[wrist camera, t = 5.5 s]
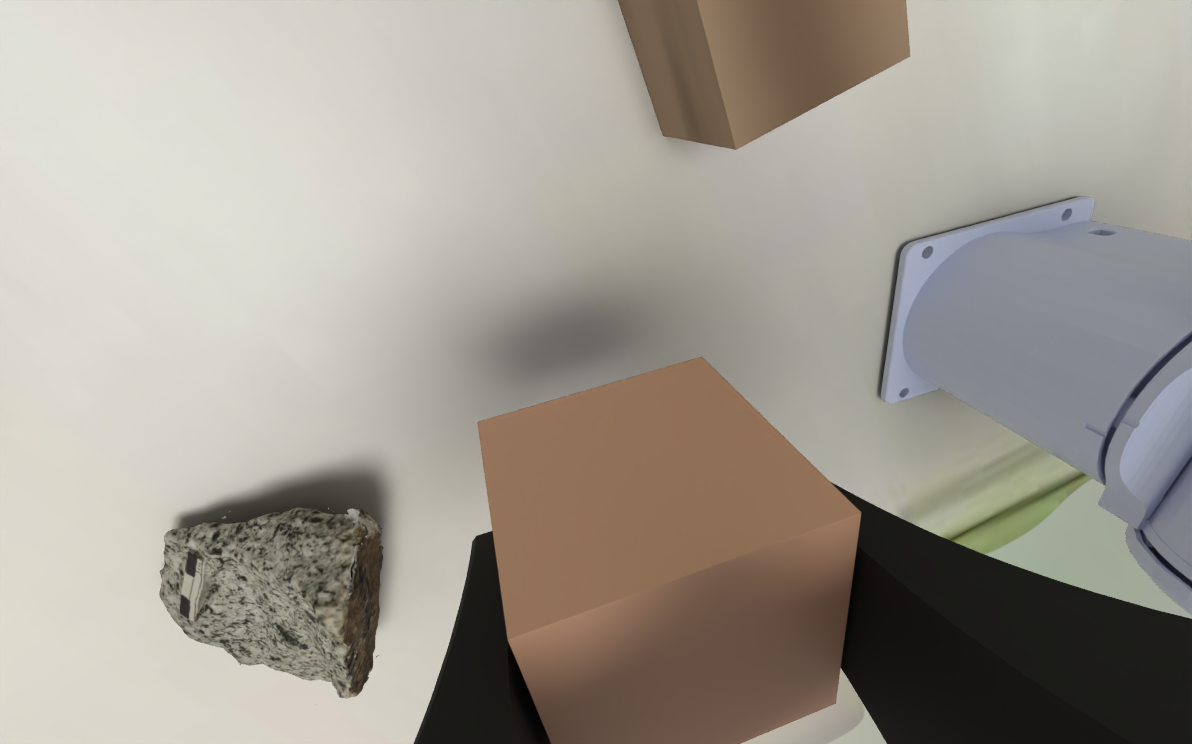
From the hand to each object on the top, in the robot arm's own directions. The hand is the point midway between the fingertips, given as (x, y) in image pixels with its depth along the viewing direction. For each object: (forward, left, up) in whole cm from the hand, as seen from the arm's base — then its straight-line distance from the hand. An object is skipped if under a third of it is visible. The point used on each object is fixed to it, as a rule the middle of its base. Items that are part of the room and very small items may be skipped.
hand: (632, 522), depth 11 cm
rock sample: (+12, +7, -10) cm, 18 cm away
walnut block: (-7, -9, -10) cm, 15 cm away
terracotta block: (0, 0, -2) cm, 2 cm away
